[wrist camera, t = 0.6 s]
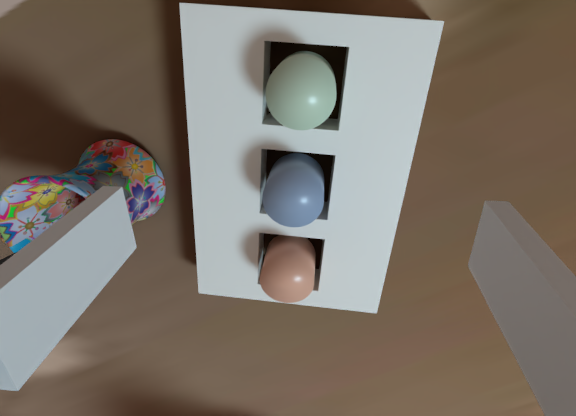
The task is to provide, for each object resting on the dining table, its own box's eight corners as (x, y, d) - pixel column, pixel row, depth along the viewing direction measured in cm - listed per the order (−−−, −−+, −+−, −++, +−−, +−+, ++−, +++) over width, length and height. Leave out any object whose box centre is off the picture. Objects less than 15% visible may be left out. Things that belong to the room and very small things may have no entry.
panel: (208, 272, 41) (198, 293, 38) (195, 3, 29) (179, 2, 26) (372, 290, 40) (376, 313, 37) (431, 19, 28) (444, 21, 25)
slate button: (268, 200, 34) (261, 224, 30) (270, 150, 32) (263, 169, 28) (321, 206, 34) (320, 230, 30) (327, 155, 32) (327, 175, 28)
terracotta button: (265, 271, 38) (258, 299, 34) (267, 230, 36) (260, 256, 32) (313, 276, 38) (311, 305, 34) (317, 236, 35) (316, 262, 32)
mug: (147, 120, 34) (78, 163, 25) (188, 208, 38) (142, 274, 29) (39, 152, 36) (-61, 202, 27) (88, 232, 40) (15, 299, 31)
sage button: (272, 112, 30) (264, 127, 27) (274, 48, 28) (266, 54, 24) (331, 117, 30) (332, 133, 26) (339, 53, 28) (340, 60, 24)
